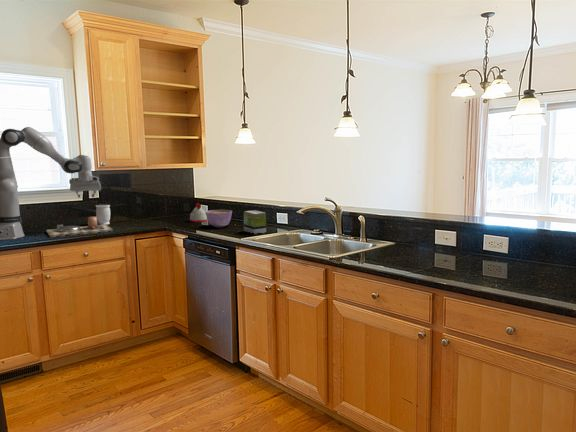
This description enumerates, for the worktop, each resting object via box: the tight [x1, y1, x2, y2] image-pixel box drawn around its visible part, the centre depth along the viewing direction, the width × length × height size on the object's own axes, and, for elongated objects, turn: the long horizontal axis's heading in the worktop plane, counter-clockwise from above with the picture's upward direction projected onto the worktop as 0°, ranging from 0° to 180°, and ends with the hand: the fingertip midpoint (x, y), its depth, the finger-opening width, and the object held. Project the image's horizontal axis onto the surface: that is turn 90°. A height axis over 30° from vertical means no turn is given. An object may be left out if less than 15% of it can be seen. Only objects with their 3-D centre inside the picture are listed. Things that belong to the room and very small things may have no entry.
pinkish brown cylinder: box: [87, 216, 98, 229], centre depth 316 cm, size 8×6×8 cm
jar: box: [95, 204, 111, 226], centre depth 344 cm, size 11×10×15 cm
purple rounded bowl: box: [205, 209, 233, 228], centre depth 333 cm, size 20×20×12 cm
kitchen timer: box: [189, 202, 208, 223], centre depth 359 cm, size 14×14×15 cm
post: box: [56, 223, 81, 232], centre depth 310 cm, size 15×15×4 cm
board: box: [46, 224, 114, 238], centre depth 313 cm, size 40×24×2 cm, turn 123°
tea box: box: [243, 209, 267, 235], centre depth 309 cm, size 15×10×15 cm
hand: (86, 197), depth 315 cm, fingers open, 8 cm apart
